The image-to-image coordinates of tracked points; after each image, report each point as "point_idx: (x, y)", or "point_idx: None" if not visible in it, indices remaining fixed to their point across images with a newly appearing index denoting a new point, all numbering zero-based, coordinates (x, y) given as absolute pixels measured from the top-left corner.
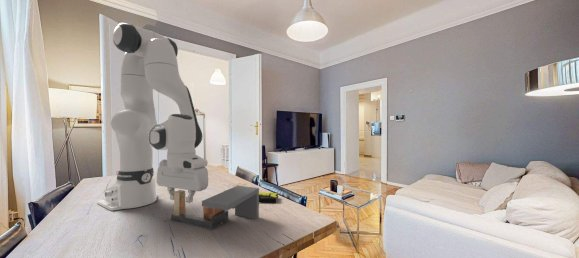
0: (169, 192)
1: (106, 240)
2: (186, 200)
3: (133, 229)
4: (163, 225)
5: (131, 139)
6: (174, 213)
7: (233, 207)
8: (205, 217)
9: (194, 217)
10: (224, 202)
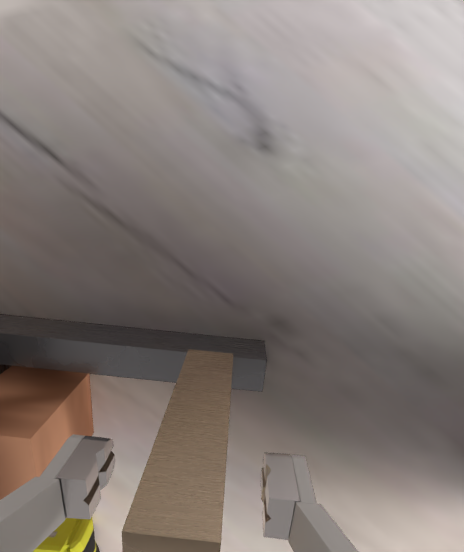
0: (331, 535)
1: (424, 10)
2: (90, 449)
3: (378, 185)
4: (246, 277)
5: None
6: (229, 360)
7: (67, 518)
8: (59, 385)
9: (90, 360)
10: None
